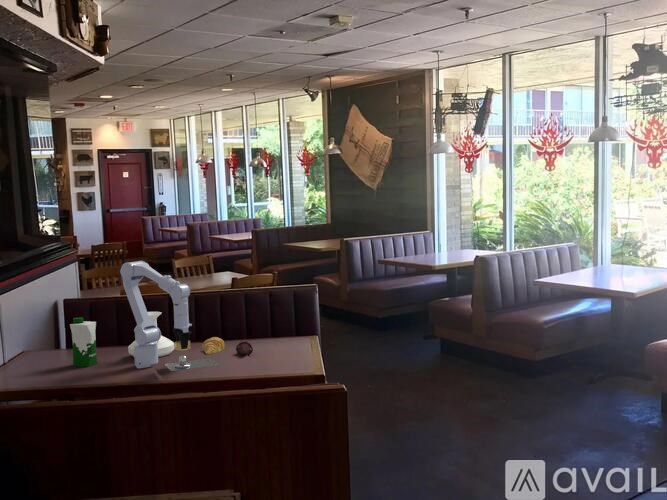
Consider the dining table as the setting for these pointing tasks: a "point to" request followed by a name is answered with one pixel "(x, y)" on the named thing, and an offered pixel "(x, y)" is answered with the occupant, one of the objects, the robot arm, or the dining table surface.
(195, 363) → the block
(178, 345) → the ring
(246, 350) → the icecream
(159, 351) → the candle holder
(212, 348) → the croissant
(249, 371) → the dining table surface
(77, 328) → the milk carton
